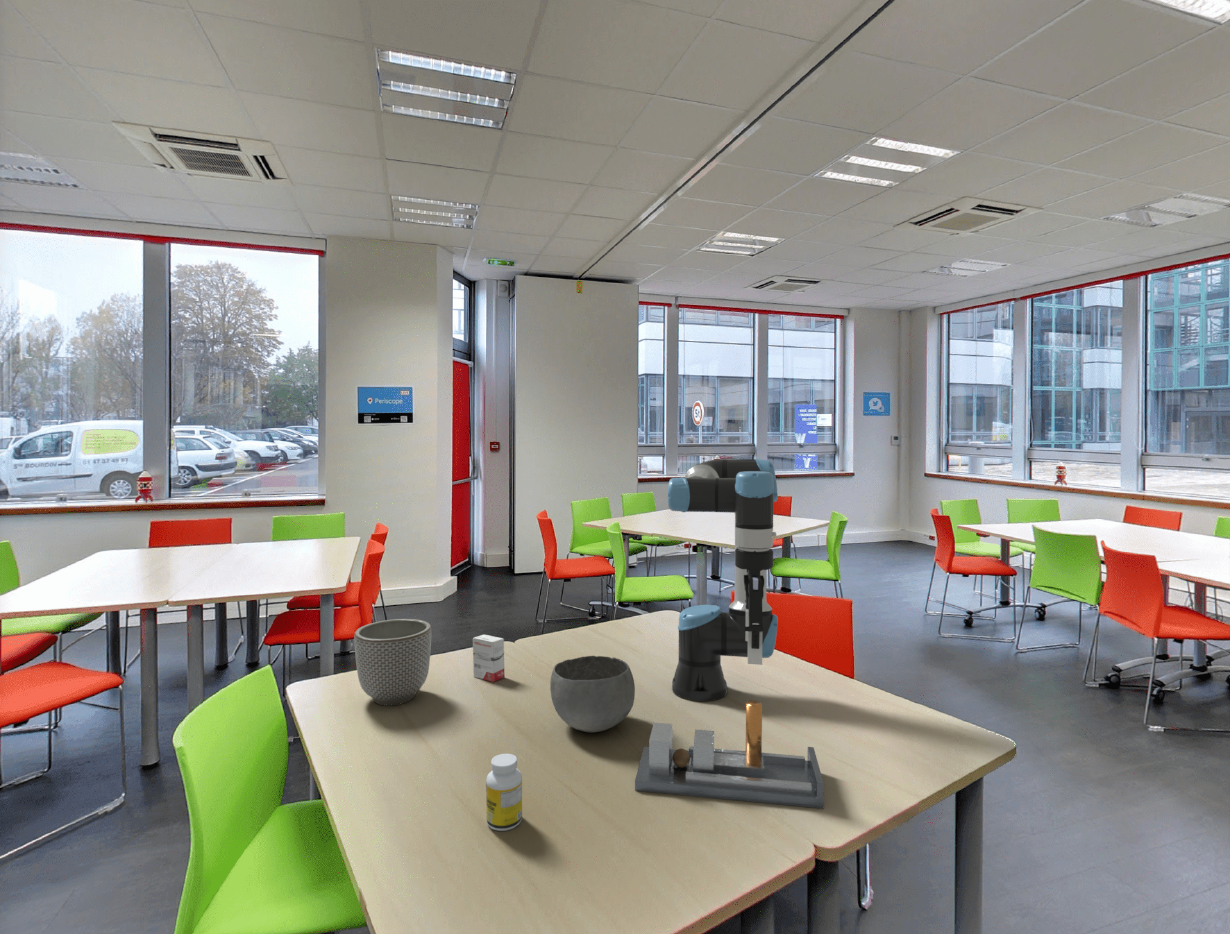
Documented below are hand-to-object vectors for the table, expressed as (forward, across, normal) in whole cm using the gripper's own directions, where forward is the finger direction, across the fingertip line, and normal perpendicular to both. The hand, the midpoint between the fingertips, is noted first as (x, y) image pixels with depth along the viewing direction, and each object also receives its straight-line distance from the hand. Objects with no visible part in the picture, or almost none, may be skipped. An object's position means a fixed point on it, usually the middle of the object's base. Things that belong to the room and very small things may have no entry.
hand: (753, 651), depth 127 cm
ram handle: (+24, -1, +5) cm, 25 cm away
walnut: (+25, -1, +14) cm, 29 cm away
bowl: (+27, +18, +37) cm, 50 cm away
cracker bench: (+27, -1, +5) cm, 27 cm away
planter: (+27, +25, +94) cm, 101 cm away
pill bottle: (+27, -22, +45) cm, 57 cm away
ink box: (+27, +44, +74) cm, 91 cm away
